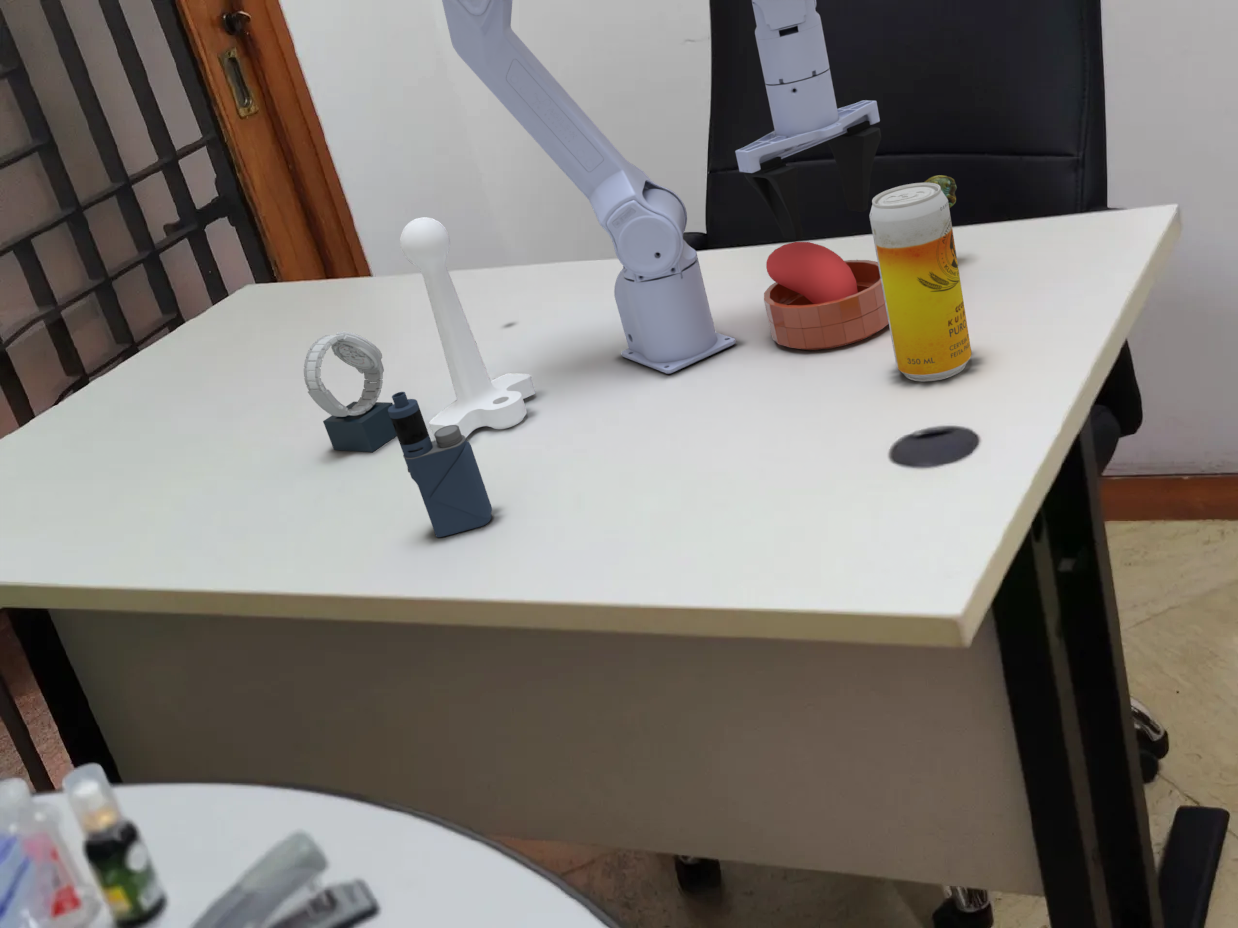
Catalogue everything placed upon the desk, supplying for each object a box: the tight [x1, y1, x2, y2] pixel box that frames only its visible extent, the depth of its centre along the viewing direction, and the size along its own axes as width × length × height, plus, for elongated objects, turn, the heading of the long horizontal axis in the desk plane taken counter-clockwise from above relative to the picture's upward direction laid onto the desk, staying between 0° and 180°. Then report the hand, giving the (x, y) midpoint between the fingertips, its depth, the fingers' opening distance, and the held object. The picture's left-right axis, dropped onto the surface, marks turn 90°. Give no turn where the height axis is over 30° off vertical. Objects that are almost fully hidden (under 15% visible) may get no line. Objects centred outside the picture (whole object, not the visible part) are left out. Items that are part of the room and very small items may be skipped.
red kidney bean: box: [765, 241, 858, 304], centre depth 120 cm, size 5×9×6 cm, turn 38°
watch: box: [303, 330, 397, 453], centre depth 124 cm, size 6×8×11 cm
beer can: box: [868, 182, 973, 382], centre depth 104 cm, size 6×6×15 cm
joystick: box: [399, 216, 537, 441], centre depth 118 cm, size 11×8×20 cm
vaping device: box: [388, 391, 493, 538], centre depth 100 cm, size 3×5×12 cm, turn 95°
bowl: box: [763, 259, 889, 351], centre depth 120 cm, size 12×12×4 cm
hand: (826, 224), depth 119 cm, fingers open, 7 cm apart
